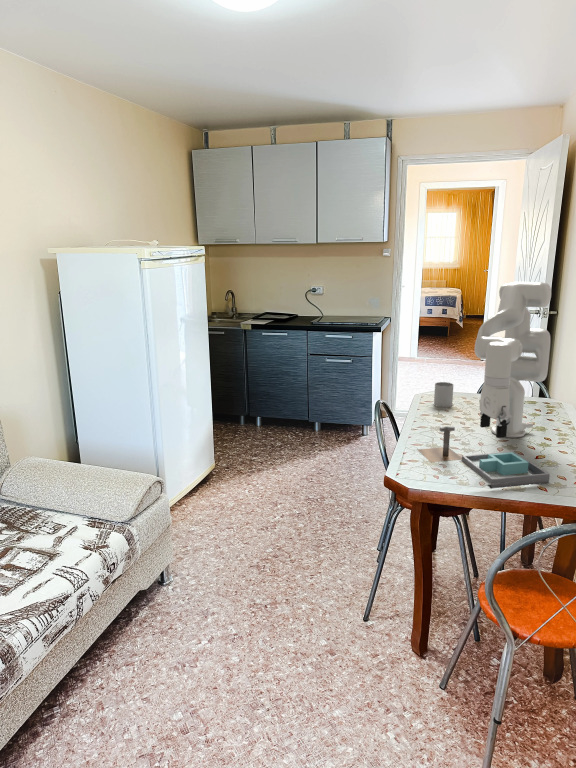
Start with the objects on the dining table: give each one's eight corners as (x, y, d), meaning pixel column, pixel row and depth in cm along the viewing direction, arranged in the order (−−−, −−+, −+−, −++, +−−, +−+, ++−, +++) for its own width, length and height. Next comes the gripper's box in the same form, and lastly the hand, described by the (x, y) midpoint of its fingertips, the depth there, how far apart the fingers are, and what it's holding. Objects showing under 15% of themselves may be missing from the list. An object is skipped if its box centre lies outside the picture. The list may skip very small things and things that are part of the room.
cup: (434, 406, 247) (435, 386, 244) (433, 401, 255) (434, 382, 252) (453, 407, 245) (454, 386, 243) (451, 402, 253) (452, 382, 251)
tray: (513, 459, 185) (514, 451, 184) (548, 482, 166) (549, 474, 165) (461, 463, 182) (461, 455, 181) (491, 488, 163) (492, 479, 163)
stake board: (447, 450, 194) (449, 419, 191) (463, 463, 182) (465, 430, 179) (416, 453, 192) (418, 422, 189) (430, 466, 181) (432, 433, 178)
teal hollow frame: (473, 468, 177) (474, 455, 176) (511, 464, 179) (512, 452, 178) (487, 479, 168) (488, 466, 167) (527, 475, 171) (528, 462, 170)
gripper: (472, 375, 173) (468, 424, 178) (500, 389, 157) (496, 442, 161) (493, 373, 174) (489, 422, 179) (523, 387, 158) (518, 440, 162)
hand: (492, 432), depth 170 cm, fingers open, 9 cm apart
